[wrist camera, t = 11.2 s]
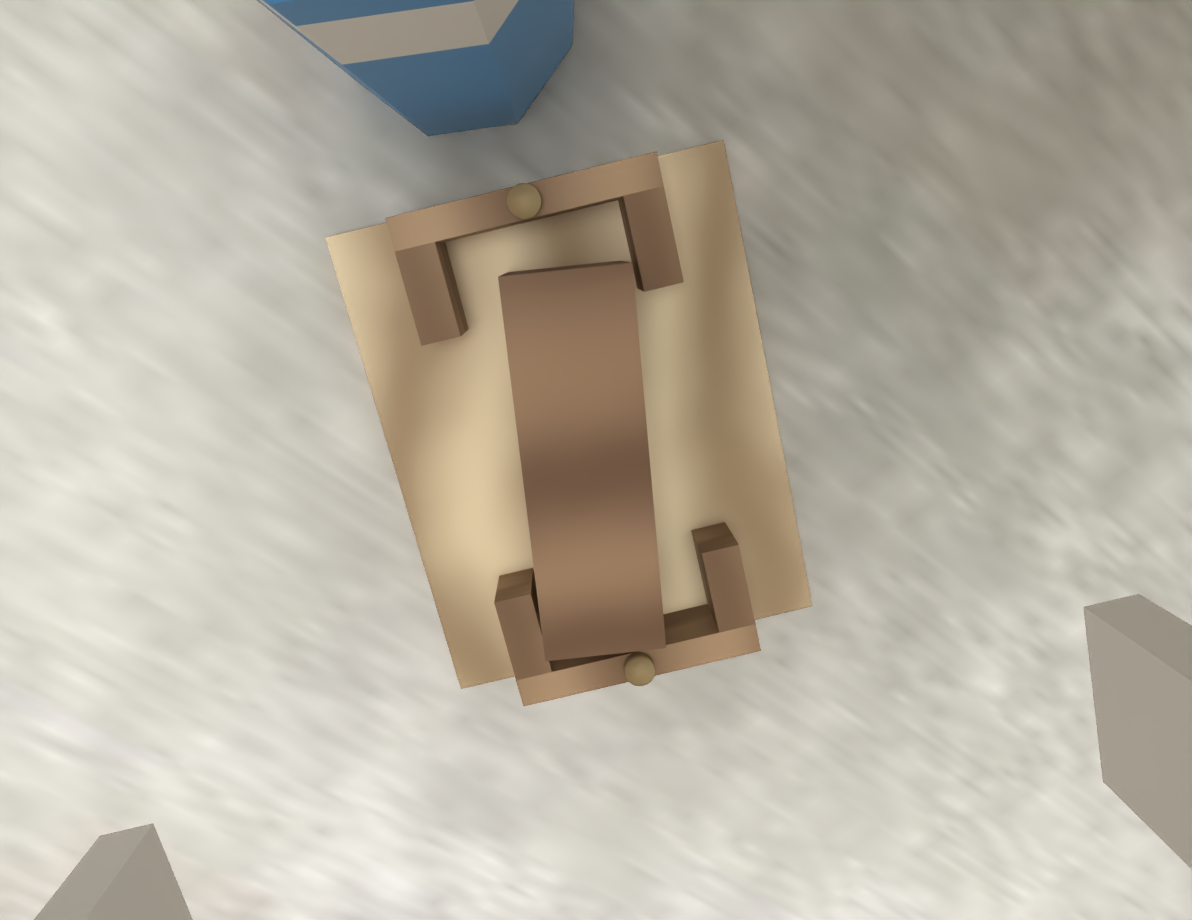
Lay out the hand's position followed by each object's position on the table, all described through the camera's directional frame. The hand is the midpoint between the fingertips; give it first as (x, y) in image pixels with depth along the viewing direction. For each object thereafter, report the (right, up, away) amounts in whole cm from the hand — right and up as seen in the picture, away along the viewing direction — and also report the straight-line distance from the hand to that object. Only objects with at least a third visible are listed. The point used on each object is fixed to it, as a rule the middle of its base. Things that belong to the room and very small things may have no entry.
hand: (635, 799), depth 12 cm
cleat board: (-1, +6, +26) cm, 26 cm away
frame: (-1, +6, +25) cm, 25 cm away
